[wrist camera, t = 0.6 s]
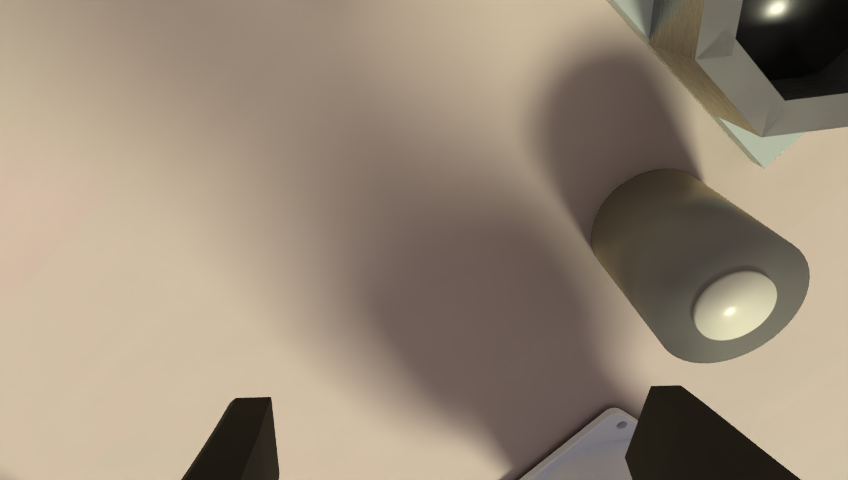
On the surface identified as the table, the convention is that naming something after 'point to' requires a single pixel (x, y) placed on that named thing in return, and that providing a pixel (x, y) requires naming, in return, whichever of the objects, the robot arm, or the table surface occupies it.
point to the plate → (637, 12)
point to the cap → (698, 266)
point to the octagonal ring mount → (759, 60)
